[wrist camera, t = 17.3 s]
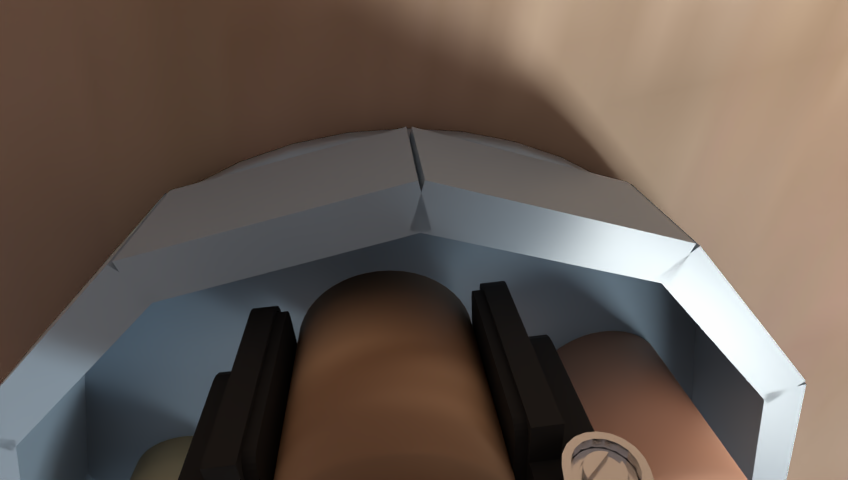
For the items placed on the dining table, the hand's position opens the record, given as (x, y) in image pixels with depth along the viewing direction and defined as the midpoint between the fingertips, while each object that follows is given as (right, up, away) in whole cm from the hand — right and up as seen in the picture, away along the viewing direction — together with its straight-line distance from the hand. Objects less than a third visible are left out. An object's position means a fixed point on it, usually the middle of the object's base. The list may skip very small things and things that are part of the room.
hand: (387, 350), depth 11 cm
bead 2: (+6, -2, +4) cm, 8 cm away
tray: (0, -4, +6) cm, 7 cm away
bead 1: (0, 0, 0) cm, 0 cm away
